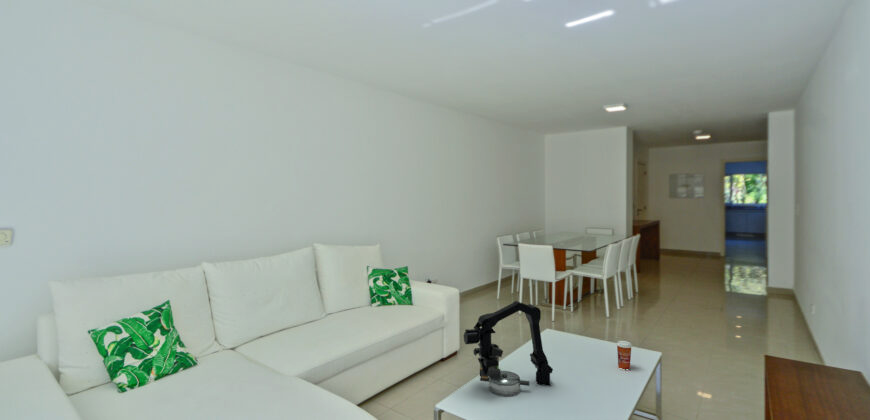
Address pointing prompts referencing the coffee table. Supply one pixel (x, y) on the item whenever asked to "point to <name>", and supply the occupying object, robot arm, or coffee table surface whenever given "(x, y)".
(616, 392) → the coffee table surface
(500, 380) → the lid
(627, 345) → the paper cup
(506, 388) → the pot
